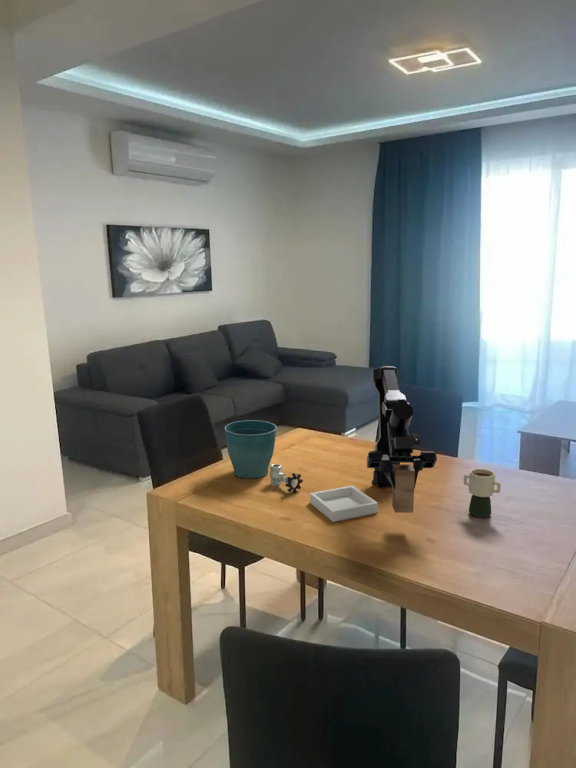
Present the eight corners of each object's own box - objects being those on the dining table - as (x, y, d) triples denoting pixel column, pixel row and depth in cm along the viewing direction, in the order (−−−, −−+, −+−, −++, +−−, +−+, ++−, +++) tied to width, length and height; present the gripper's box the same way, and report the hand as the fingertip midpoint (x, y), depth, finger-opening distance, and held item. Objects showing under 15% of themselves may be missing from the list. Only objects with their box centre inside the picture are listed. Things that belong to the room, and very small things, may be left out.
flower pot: (286, 470, 207) (286, 424, 203) (257, 486, 192) (256, 437, 189) (246, 461, 216) (245, 417, 213) (215, 476, 202) (213, 429, 198)
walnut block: (391, 505, 163) (393, 464, 160) (409, 505, 163) (411, 464, 160) (394, 512, 158) (396, 470, 155) (413, 512, 158) (415, 470, 155)
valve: (264, 484, 194) (287, 495, 185) (264, 466, 192) (287, 476, 183) (280, 480, 198) (302, 490, 189) (279, 461, 197) (302, 471, 187)
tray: (352, 494, 185) (352, 485, 184) (377, 512, 171) (377, 502, 171) (309, 502, 179) (309, 493, 178) (332, 521, 166) (333, 511, 165)
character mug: (502, 515, 169) (505, 473, 166) (493, 523, 164) (496, 480, 161) (467, 505, 176) (469, 465, 173) (456, 513, 171) (459, 471, 168)
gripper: (368, 423, 159) (372, 475, 151) (437, 423, 159) (444, 476, 150) (365, 442, 169) (368, 492, 160) (429, 442, 168) (436, 492, 160)
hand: (404, 488), depth 157 cm, fingers closed on walnut block, 5 cm apart
